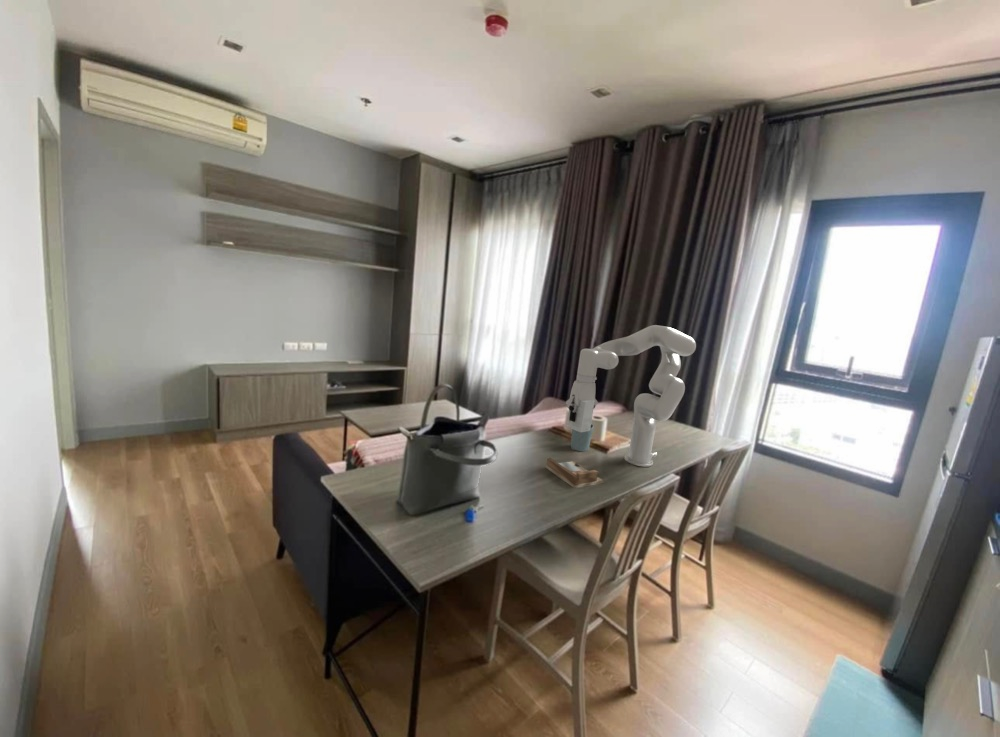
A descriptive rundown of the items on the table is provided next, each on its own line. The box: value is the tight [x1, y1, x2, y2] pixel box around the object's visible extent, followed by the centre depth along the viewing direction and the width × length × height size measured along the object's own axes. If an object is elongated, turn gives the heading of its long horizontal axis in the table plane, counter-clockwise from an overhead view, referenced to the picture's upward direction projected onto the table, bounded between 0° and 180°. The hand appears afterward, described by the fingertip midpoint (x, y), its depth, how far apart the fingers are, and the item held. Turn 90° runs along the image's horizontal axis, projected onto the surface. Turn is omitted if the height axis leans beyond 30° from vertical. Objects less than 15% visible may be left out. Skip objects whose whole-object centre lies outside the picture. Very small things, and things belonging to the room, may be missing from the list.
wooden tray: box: [545, 457, 604, 489], centre depth 166 cm, size 14×19×5 cm
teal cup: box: [570, 423, 595, 452], centre depth 197 cm, size 10×10×12 cm
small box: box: [566, 400, 595, 432], centre depth 172 cm, size 8×6×13 cm
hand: (579, 420), depth 172 cm, fingers closed on small box, 7 cm apart
